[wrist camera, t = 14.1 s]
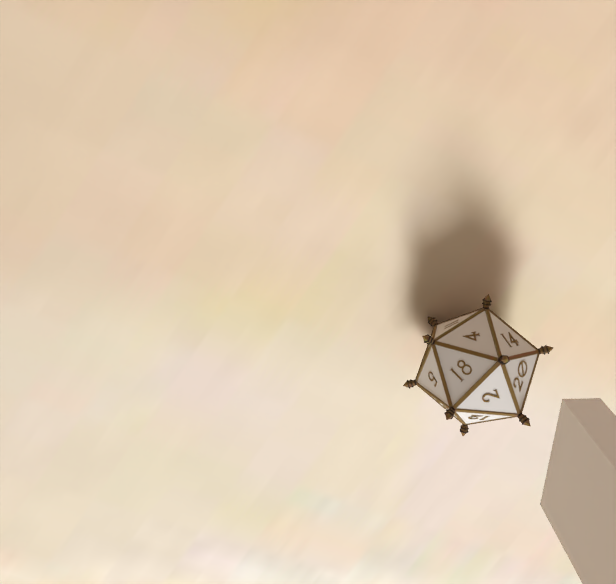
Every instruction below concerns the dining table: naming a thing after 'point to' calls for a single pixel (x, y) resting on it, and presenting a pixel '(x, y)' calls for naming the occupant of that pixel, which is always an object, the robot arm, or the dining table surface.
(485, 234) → the dining table surface
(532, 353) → the game die
